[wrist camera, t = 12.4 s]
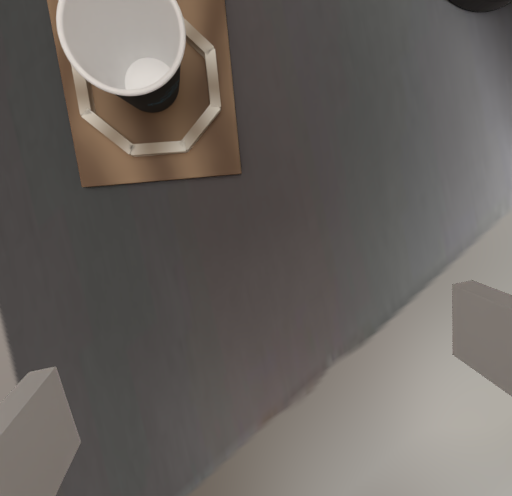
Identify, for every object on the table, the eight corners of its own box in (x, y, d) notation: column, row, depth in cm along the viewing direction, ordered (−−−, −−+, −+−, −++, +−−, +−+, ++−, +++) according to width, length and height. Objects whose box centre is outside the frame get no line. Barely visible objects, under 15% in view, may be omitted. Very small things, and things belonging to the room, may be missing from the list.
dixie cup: (186, 136, 32) (176, 107, 22) (104, 118, 31) (49, 78, 20) (199, 53, 31) (194, -20, 20) (114, 31, 30) (61, -60, 19)
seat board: (222, -11, 32) (223, -29, 29) (240, 174, 35) (242, 172, 32) (50, -10, 30) (35, -29, 27) (86, 187, 33) (76, 186, 30)
